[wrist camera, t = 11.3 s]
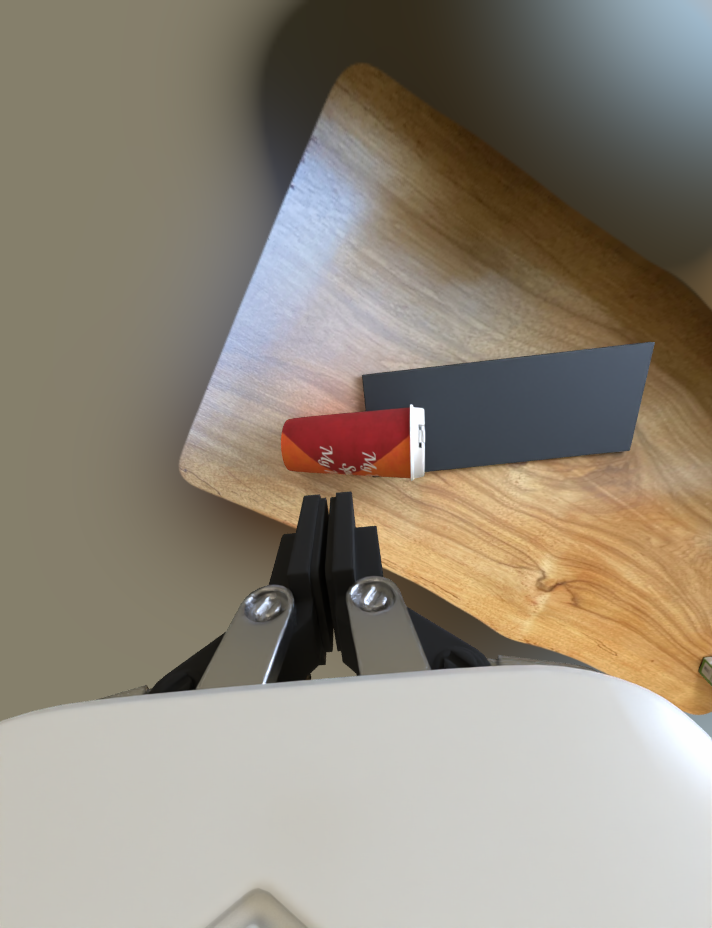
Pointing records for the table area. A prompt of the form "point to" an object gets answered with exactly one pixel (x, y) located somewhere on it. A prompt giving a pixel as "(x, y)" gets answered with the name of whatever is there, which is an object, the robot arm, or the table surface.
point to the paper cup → (357, 443)
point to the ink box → (706, 669)
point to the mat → (521, 405)
